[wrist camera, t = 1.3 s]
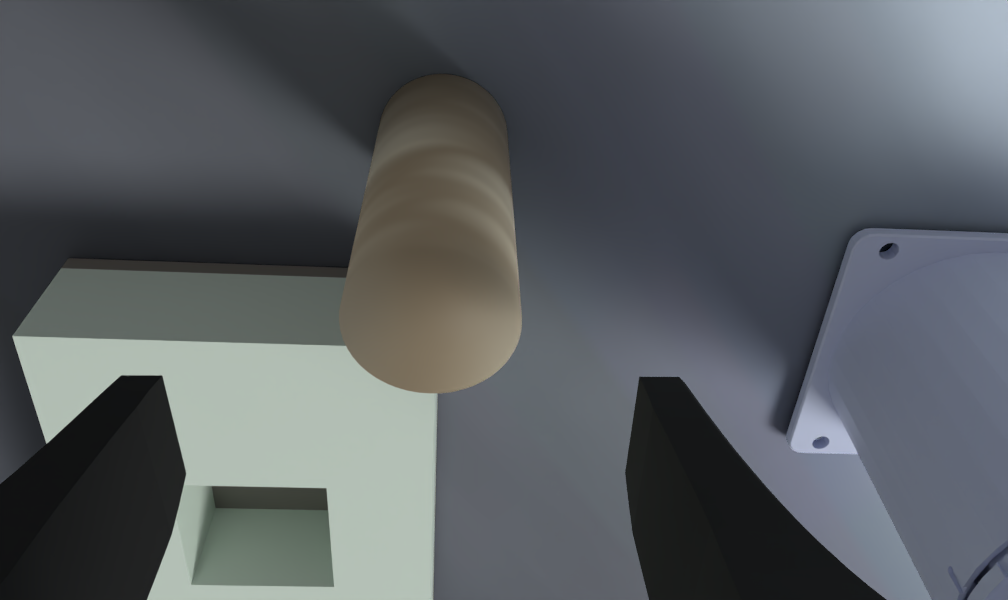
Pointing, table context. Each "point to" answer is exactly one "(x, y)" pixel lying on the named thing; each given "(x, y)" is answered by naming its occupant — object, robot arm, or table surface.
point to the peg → (435, 243)
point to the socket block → (251, 425)
